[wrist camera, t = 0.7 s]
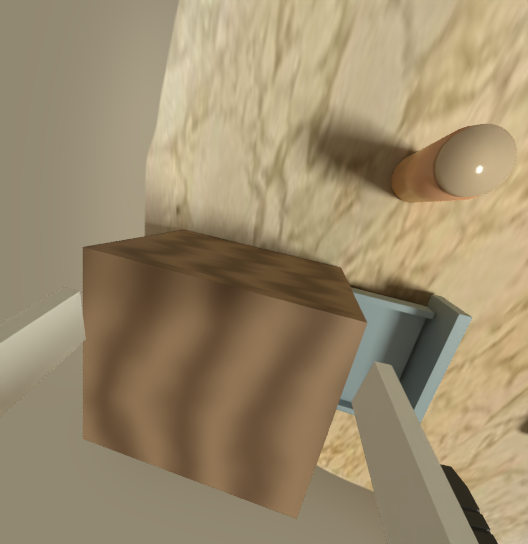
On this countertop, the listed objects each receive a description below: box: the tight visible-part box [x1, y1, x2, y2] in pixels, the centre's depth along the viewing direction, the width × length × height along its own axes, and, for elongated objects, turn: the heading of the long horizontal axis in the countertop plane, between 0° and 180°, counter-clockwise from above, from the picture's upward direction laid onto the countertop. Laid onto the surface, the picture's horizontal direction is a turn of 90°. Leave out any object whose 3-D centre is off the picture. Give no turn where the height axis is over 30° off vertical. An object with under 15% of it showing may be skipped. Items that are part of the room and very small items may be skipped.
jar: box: [391, 124, 517, 203], centre depth 23 cm, size 5×5×11 cm
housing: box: [83, 230, 367, 519], centre depth 29 cm, size 22×20×16 cm
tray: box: [337, 287, 472, 423], centre depth 31 cm, size 22×19×6 cm
